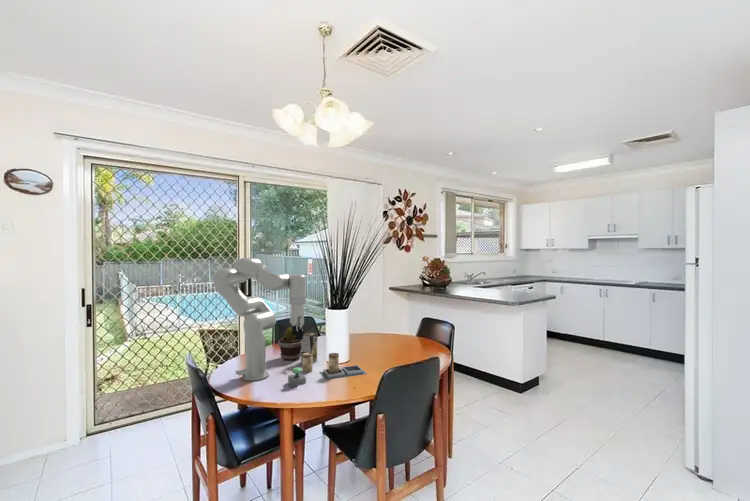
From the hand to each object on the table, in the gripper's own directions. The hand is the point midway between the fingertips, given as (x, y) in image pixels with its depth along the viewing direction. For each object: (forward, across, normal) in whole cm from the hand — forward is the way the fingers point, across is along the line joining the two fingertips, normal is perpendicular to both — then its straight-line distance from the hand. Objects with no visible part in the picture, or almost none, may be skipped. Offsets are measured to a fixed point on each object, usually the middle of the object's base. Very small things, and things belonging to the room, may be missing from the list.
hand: (297, 337), depth 171 cm
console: (+22, 0, 0) cm, 22 cm away
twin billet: (+21, -3, +19) cm, 28 cm away
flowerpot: (+22, -42, +5) cm, 48 cm away
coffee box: (+22, -30, +13) cm, 39 cm away
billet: (+22, -13, +8) cm, 27 cm away
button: (+19, 0, 0) cm, 19 cm away
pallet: (+22, -3, +24) cm, 33 cm away
